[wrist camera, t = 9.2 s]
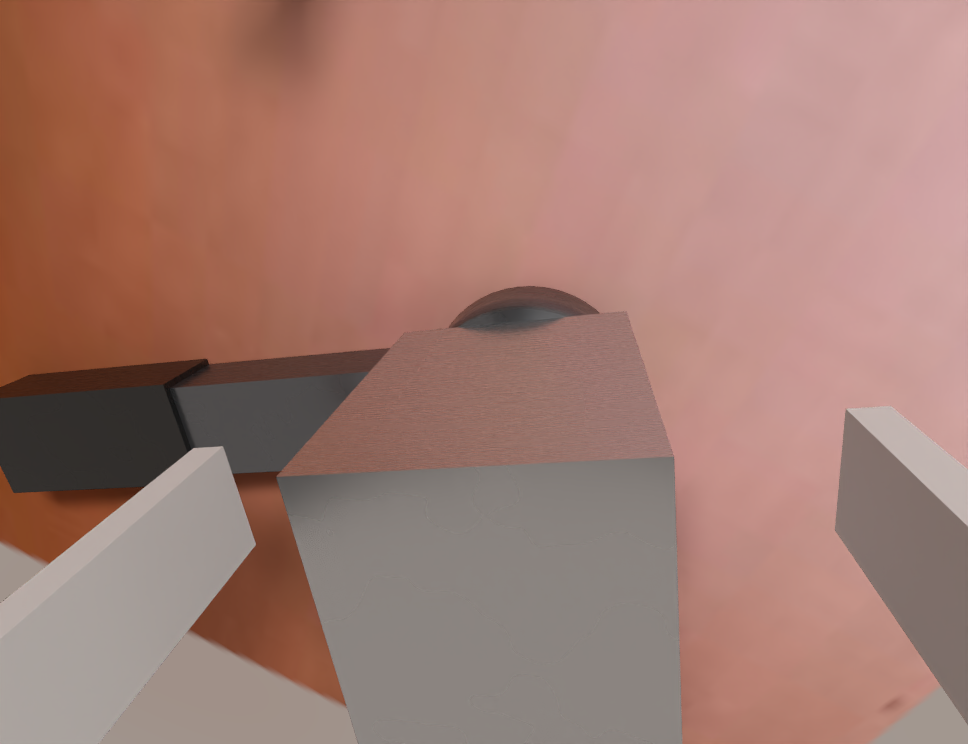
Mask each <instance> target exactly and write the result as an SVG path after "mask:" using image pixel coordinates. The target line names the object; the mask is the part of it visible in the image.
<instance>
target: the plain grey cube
mask: <svg viewBox="0 0 968 744" xmlns="http://www.w3.org/2000/svg"><path fill="white" fill-rule="evenodd" d="M276 478H277V481H278V485H279V488H280V491H281V494H282V498H283V501H284V504H285V507H286V511H287V514H288V517H289V520H290V524H291V527H292V530H293V533H294V537H295V540H296V543H297V546H298V550H299V553H300V556H301V559H302V563H303V566H304V569H305V572H306V576H307V579H308V582H309V585H310V589H311V592H312V595H313V598H314V602H315V605H316V608H317V611H318V615H319V618H320V621H321V624H322V628H323V631H324V634H325V637H326V641H327V644H328V647H329V650H330V654H331V657H332V660H333V663H334V667H335V670H336V673H337V676H338V680H339V683H340V686H341V689H342V693H343V696H344V699H345V702H346V706H347V709H348V712H349V715H350V719H351V722H352V725H353V728H354V732H355V735H356V738H357V741H358V744H682V718H681V683H680V647H679V612H678V577H677V542H676V507H675V472H674V455H673V452H672V449H671V446H670V443H669V440H668V437H667V433H666V430H665V427H664V424H663V421H662V418H661V415H660V412H659V409H658V406H657V403H656V400H655V397H654V394H653V391H652V388H651V385H650V382H649V379H648V375H647V372H646V369H645V366H644V363H643V360H642V357H641V354H640V351H639V348H638V345H637V342H636V339H635V336H634V333H633V330H632V327H631V324H630V321H629V318H628V314H627V311H622V312H612V313H601V314H591V315H581V316H570V317H560V318H550V319H539V320H529V321H519V322H508V323H498V324H488V325H477V326H467V327H457V328H446V329H436V330H426V331H415V332H405V333H404V334H403V335H402V336H401V337H400V338H399V339H398V340H397V342H396V343H395V344H394V345H393V346H392V347H391V348H390V349H389V351H388V352H387V353H386V354H385V355H384V356H383V357H382V358H381V360H380V361H379V362H378V363H377V364H376V365H375V366H374V367H373V369H372V370H371V371H370V372H369V373H368V374H367V375H366V376H365V378H364V379H363V380H362V381H361V382H360V383H359V384H358V385H357V387H356V388H355V389H354V390H353V391H352V392H351V393H350V394H349V396H348V397H347V398H346V399H345V400H344V401H343V402H342V403H341V405H340V406H339V407H338V408H337V409H336V410H335V411H334V412H333V414H332V415H331V416H330V417H329V418H328V419H327V420H326V421H325V422H324V424H323V425H322V426H321V427H320V428H319V429H318V430H317V431H316V433H315V434H314V435H313V436H312V437H311V438H310V439H309V440H308V442H307V443H306V444H305V445H304V446H303V447H302V448H301V449H300V451H299V452H298V453H297V454H296V455H295V456H294V457H293V458H292V460H291V461H290V462H289V463H288V464H287V465H286V466H285V467H284V469H283V470H282V471H281V472H280V473H279V474H278V475H277V476H276Z"/></svg>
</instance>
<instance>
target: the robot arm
mask: <svg viewBox="0 0 968 744" xmlns="http://www.w3.org/2000/svg"><path fill="white" fill-rule="evenodd" d="M835 531H836V532H837V534H838V535H839V537H840V538H841V540H842V541H843V543H844V544H845V546H846V547H847V548H848V550H849V551H850V553H851V554H852V556H853V557H854V559H855V560H856V562H857V563H858V565H859V566H860V568H861V569H862V570H863V572H864V573H865V575H866V576H867V578H868V579H869V581H870V582H871V584H872V585H873V587H874V588H875V589H876V591H877V592H878V594H879V595H880V597H881V598H882V600H883V601H884V603H885V604H886V606H887V607H888V609H889V610H890V611H891V613H892V614H893V616H894V617H895V619H896V620H897V622H898V623H899V625H900V626H901V628H902V629H903V631H904V632H905V633H906V635H907V636H908V638H909V639H910V641H911V642H912V644H913V645H914V647H915V648H916V650H917V651H918V652H919V654H920V655H921V657H922V658H923V660H924V661H925V663H926V664H927V666H928V667H929V669H930V670H931V672H932V673H933V674H934V676H935V677H936V679H937V680H938V682H939V683H940V685H941V686H942V688H943V689H944V691H945V692H946V694H947V695H948V696H949V698H950V699H951V701H952V702H953V704H954V705H955V707H956V708H957V709H958V711H959V713H960V714H961V715H962V717H963V718H964V720H965V721H966V723H967V724H968V469H967V468H966V467H964V466H963V465H962V464H961V463H960V462H958V461H957V460H956V459H955V458H953V457H952V456H951V455H950V454H949V453H947V452H946V451H945V450H944V449H942V448H941V447H940V446H939V445H938V444H936V443H935V442H934V441H933V440H931V439H930V438H929V437H928V436H927V435H925V434H924V433H923V432H922V431H920V430H919V429H918V428H917V427H916V426H914V425H913V424H912V423H911V422H910V421H908V420H907V419H906V418H905V417H903V416H902V415H901V414H900V413H899V412H897V411H896V410H895V409H894V408H892V407H891V406H883V407H867V408H850V409H846V412H845V423H844V434H843V446H842V457H841V468H840V479H839V490H838V501H837V512H836V523H835ZM255 545H256V543H255V540H254V537H253V534H252V531H251V528H250V525H249V522H248V519H247V516H246V513H245V510H244V507H243V504H242V501H241V498H240V495H239V492H238V489H237V486H236V483H235V480H234V478H233V475H232V472H231V469H230V466H229V463H228V460H227V457H226V454H225V451H224V448H223V446H220V447H204V448H193V449H192V450H191V451H189V452H188V453H187V454H186V455H184V456H183V457H182V458H181V459H179V460H178V461H177V462H176V463H174V464H173V465H172V466H171V467H169V468H168V469H167V470H166V471H164V472H163V473H162V474H161V475H159V476H158V477H157V478H156V479H154V480H153V481H152V482H151V483H149V484H148V485H147V486H146V487H144V488H143V489H142V490H141V491H139V492H138V493H137V494H136V495H135V496H133V497H132V498H131V499H130V500H128V501H127V502H126V503H125V504H123V505H122V506H121V507H120V508H118V509H117V510H116V511H115V512H113V513H112V514H111V515H110V516H108V517H107V518H106V519H105V520H103V521H102V522H101V523H100V524H98V525H97V526H96V527H95V528H93V529H92V530H91V531H90V532H88V533H87V534H86V535H85V536H83V537H82V538H81V539H80V540H78V541H77V542H76V543H75V544H73V545H72V546H71V547H70V548H68V549H67V550H66V551H65V552H63V553H62V554H61V555H60V556H58V557H57V558H56V559H55V560H53V561H52V562H51V563H50V564H49V565H47V566H46V567H45V568H44V569H42V570H41V571H40V572H39V573H37V574H36V575H35V576H34V577H32V578H31V579H30V580H29V581H27V582H26V583H25V584H24V585H22V586H21V587H20V588H19V589H17V590H16V591H15V592H14V593H12V594H11V595H10V596H8V597H7V598H6V599H5V600H3V601H2V602H1V603H0V744H99V743H100V742H101V740H102V739H103V738H104V736H105V735H106V734H107V733H108V732H109V730H110V729H111V728H112V726H113V725H114V724H115V723H116V721H117V720H118V719H119V718H120V716H121V715H122V714H123V712H124V711H125V710H126V709H127V707H128V706H129V705H130V704H131V702H132V701H133V700H134V699H135V697H136V696H137V695H138V694H139V692H140V691H141V690H142V688H143V687H144V686H145V685H146V683H147V682H148V681H149V680H150V678H151V677H152V676H153V675H154V673H155V672H156V671H157V669H158V668H159V667H160V666H161V664H162V663H163V662H164V661H165V659H166V658H167V657H168V656H169V654H170V653H171V652H172V650H173V649H174V648H175V647H176V645H177V644H178V643H179V642H180V640H181V639H182V638H183V637H184V635H185V634H186V633H187V631H188V630H189V629H190V628H191V626H192V625H193V624H194V623H195V621H196V620H197V619H198V618H199V616H200V615H201V614H202V612H203V611H204V610H205V609H206V607H207V606H208V605H209V604H210V602H211V601H212V600H213V599H214V597H215V596H216V595H217V593H218V592H219V591H220V590H221V588H222V587H223V586H224V585H225V583H226V582H227V581H228V580H229V578H230V577H231V576H232V574H233V573H234V572H235V571H236V569H237V568H238V567H239V566H240V564H241V563H242V562H243V561H244V559H245V558H246V557H247V555H248V554H249V553H250V552H251V550H252V549H253V548H254V547H255Z"/></svg>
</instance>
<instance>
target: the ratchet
mask: <svg viewBox="0 0 968 744" xmlns="http://www.w3.org/2000/svg"><path fill="white" fill-rule="evenodd" d="M591 314H600V313H599V312H598V311H597V310H596V309H594V308H593V307H592V306H590V305H589V304H587V303H586V302H584V301H582V300H581V299H579V298H577V297H575V296H573V295H570V294H568V293H565V292H562V291H559V290H555V289H550V288H546V287H535V286H526V287H514V288H509V289H504V290H501V291H497V292H494V293H491V294H489V295H487V296H485V297H483V298H481V299H479V300H477V301H476V302H474V303H473V304H471V305H470V306H468V307H467V308H466V309H465V310H464V311H462V312H461V313H460V314H459V315H458V316H457V318H456V319H455V320H454V321H453V322H452V323H451V325H450V326H449V328H457V327H467V326H477V325H488V324H498V323H508V322H519V321H529V320H539V319H550V318H560V317H570V316H581V315H591ZM389 349H390V348H387V349H376V350H365V351H354V352H343V353H332V354H320V355H309V356H298V357H287V358H276V359H265V360H253V361H242V362H231V363H220V364H208V361H207V359H200V360H189V361H178V362H167V363H156V364H145V365H134V366H123V367H112V368H102V369H91V370H80V371H69V372H58V373H47V374H36V375H28V376H26V377H23V378H21V379H19V380H16V381H14V382H12V383H9V384H7V385H5V386H2V387H0V466H1V468H2V470H3V472H4V474H5V476H6V478H7V480H8V482H9V484H10V486H11V488H12V490H13V492H14V493H21V492H42V491H63V490H84V489H105V488H126V487H146V486H147V485H148V484H149V483H151V482H152V481H153V480H154V479H156V478H157V477H158V476H159V475H161V474H162V473H163V472H164V471H166V470H167V469H168V468H169V467H171V466H172V465H173V464H174V463H176V462H177V461H178V460H179V459H181V458H182V457H183V456H184V455H186V454H187V453H188V452H189V451H191V450H192V449H193V448H204V447H220V446H223V448H224V451H225V454H226V457H227V460H228V463H229V466H230V469H231V472H232V474H234V473H254V472H274V471H282V470H283V469H284V467H285V466H286V465H287V464H288V463H289V462H290V461H291V460H292V458H293V457H294V456H295V455H296V454H297V453H298V452H299V451H300V449H301V448H302V447H303V446H304V445H305V444H306V443H307V442H308V440H309V439H310V438H311V437H312V436H313V435H314V434H315V433H316V431H317V430H318V429H319V428H320V427H321V426H322V425H323V424H324V422H325V421H326V420H327V419H328V418H329V417H330V416H331V415H332V414H333V412H334V411H335V410H336V409H337V408H338V407H339V406H340V405H341V403H342V402H343V401H344V400H345V399H346V398H347V397H348V396H349V394H350V393H351V392H352V391H353V390H354V389H355V388H356V387H357V385H358V384H359V383H360V382H361V381H362V380H363V379H364V378H365V376H366V375H367V374H368V373H369V372H370V371H371V370H372V369H373V367H374V366H375V365H376V364H377V363H378V362H379V361H380V360H381V358H382V357H383V356H384V355H385V354H386V353H387V352H388V351H389Z"/></svg>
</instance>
